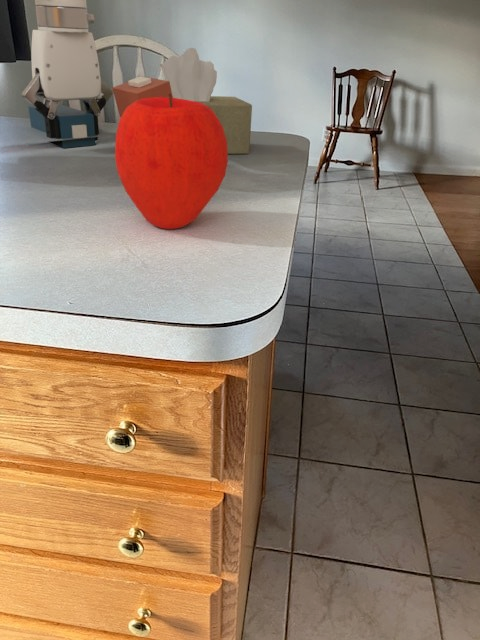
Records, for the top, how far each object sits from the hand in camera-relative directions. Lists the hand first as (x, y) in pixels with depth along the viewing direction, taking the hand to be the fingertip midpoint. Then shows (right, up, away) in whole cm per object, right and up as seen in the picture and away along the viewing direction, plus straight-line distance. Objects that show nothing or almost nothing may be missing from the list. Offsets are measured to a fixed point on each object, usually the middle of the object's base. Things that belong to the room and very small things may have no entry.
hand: (73, 140), depth 92 cm
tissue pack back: (-3, +1, +3) cm, 4 cm away
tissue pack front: (+15, -6, -20) cm, 26 cm away
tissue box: (+20, -1, +3) cm, 20 cm away
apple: (+21, -20, -32) cm, 43 cm away
